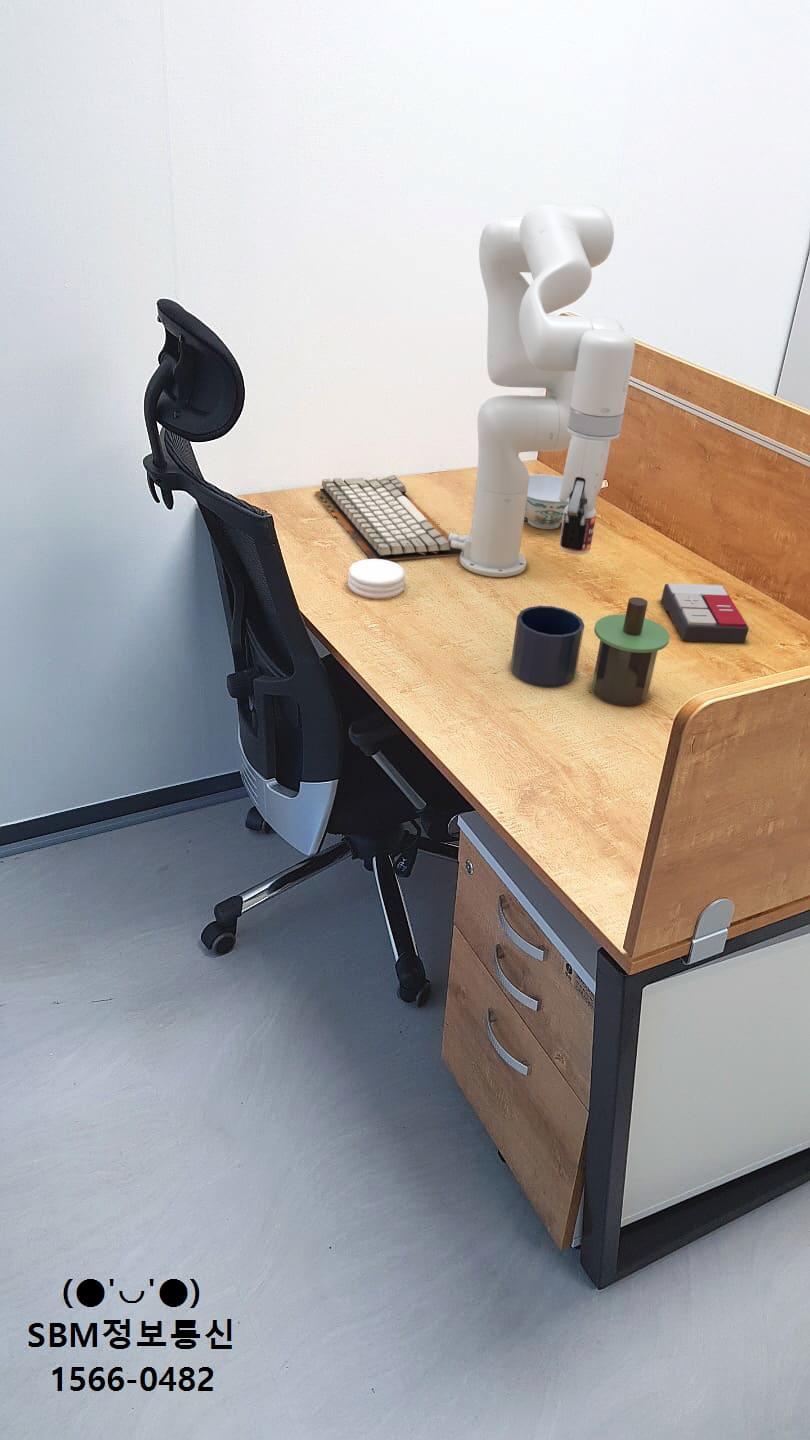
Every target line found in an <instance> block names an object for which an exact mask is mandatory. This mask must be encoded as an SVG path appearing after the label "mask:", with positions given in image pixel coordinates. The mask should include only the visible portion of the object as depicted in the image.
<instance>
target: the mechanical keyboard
mask: <svg viewBox="0 0 810 1440" xmlns="http://www.w3.org/2000/svg"><path fill="white" fill-rule="evenodd" d="M321 487H322V488H319V491H314V494H315V495H316V497H317V498H318V499H319V501H321V503H322V504H323V506H325V509H327V510H328V511H329V513H330V514H331V515H332V516H333V517H334V518H337V519H338V522H337V523H339V524H341V525H342V526H343V528H344V529H345V530H346V531H347V532H348V533H349V534H350V535H351V537H352V539H353V540H354V541H355V543H356V544H357V545H358V546H359V547H360V548H361V550H362V551H363V552H364V553H365V554H366V556H367V558H368V559H383V560H388V561H391V562H400V561H402V562H403V561H411V560H424V559H434V558H435V559H436V558H449V557H460V554H461V552H462V549H458V548H457V549H456V548H452V547H451V543H449V542H448V537H449V536H448V535H447V534H446V533H444V531H442V529H441V528H440V527H439V526H438V525H437V524H435V522H434V521H433V520H432V519H431V518H430V517H429V515H427V514H426V513H425V512H424V511H423V510H422V508H420V506H418V504H417V503H416V502H415V501H414V500H412V498H411V497H409V496H408V495H407V494H406V493H407V488H406V484H405V483H403V482H402V481H401V479H399V478H398V477H397V476H396V474H391V475H389V476H387V477H386V476H385V475H380V476H377V477H376V478H375V477H374V476H369V477H366V478H365V479H364V478H363V477H353V478H351V477H350V478H344V479H342V478H341V477H334V478H332V479H331V478H322V480H321Z"/></svg>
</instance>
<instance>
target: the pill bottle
mask: <svg viewBox="0 0 810 1440" xmlns="http://www.w3.org/2000/svg"><path fill="white" fill-rule="evenodd" d="M569 499H570V496H569ZM569 499H568V504H569ZM585 502H586V500H583V499H581V503H585ZM596 505H597V498H596V499H595V501H594V502H593V504H592V505H591V506H589V507H588V510H587V515H586V520H585V524H587V525H586V531H585V537H584V543H583V548H582V550H575V549H570V548H565V547H562V546H561V541H562V535H563V528H564V522H565V520H566V515H567V510H568V505H567V506H566V507H565V509H564V515H563V522H562V523H561V529H560V536H559V543H558V547H559V549H560V550H561V551H563V552H564V553H568V554H572V555H586V554H588V553H589V552H590V551H591V547H592V542H593V536H594V532H595V531H594V530H595V524H596V518H597V510H596V509H595V508H596ZM579 509H580V510H579V511H581V513H582V512H583V508H580V507H579Z"/></svg>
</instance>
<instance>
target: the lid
mask: <svg viewBox="0 0 810 1440" xmlns="http://www.w3.org/2000/svg"><path fill="white" fill-rule="evenodd" d="M648 605H649V603H648V600H647V599H645V598H642V597H638V596H632V597H630V598H629V599H628V601H627V607H626V612H625V614H623V613H622V614H621V613H620V614H618V613H617V614H610V615H606V616H603V617H601V618H599V619H598V620H597V621H595V623H594V628H593V631H594V635H595V636H596V637H597V639H599V641H600V640H601V641H602V642H604V643H606V644H607V645H609V646H611V647H614V648H617V649H620V650H624V651H629V652H636V653H649V652H655V651H658V652H659V651H661V650H664V649H665V648H666V647H667V646H668V645H669V643H670V639H671V638H670V633H669V632H668V630H667V629H666V627H664V626H663V625H662V624H660V623H659V622H656V621H655V620H652V619H649V618H647V617H646V614H647V608H648Z"/></svg>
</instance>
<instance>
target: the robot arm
mask: <svg viewBox="0 0 810 1440" xmlns="http://www.w3.org/2000/svg"><path fill="white" fill-rule="evenodd" d="M614 235H615V232H614V224H613V220H612V219H611V216H610V215H609V214H608V211H606V210H605V209H604V208H602V207H600V206H599V205H598V206H597V205H594V204H576V203H575V204H574V203H555V202H554V203H553V202H551V203H542V204H537V205H536V206H534V207H532V208H530V209H529V210H527V212H526V213H525V214H524V215H523V216H522V215H519V216H518V215H517V216H516V215H515V216H514V215H513V216H503V217H497V218H494V219H492V220H490V221H489V222H487V223H486V224H485V226H484V227H483V228H482V231H481V234H480V237H479V245H478V247H479V248H478V261H479V268H480V269H479V270H480V274H481V278H482V281H483V285H484V289H485V295H486V298H487V342H486V344H487V345H486V346H487V348H486V349H487V351H486V355H487V356H486V361H487V363H486V365H487V373H488V378H489V380H490V381H491V383H493V384H494V385H496V386H499V387H506V388H526V389H527V388H528V389H531V388H532V389H533V388H536V389H537V388H538V389H545V390H546V393H547V395H520V394H519V395H514V394H513V395H512V394H511V395H509V394H506V395H497V396H494V397H490V398H488V399H486V400H485V401H484V402H483V403H482V405H481V406H480V407H479V410H478V413H477V441H478V443H477V444H478V454H477V455H478V456H477V469H476V480H475V488H474V489H475V490H474V499H473V506H472V507H473V509H472V516H471V527H470V534H465V535H460V534H459V533H453V532H450V533H449V534H448V536H447V537H448V542H449V543H451V547H452V548H456V549H457V548H458V549H461V550H462V552H461V554H460V555H459V563H460V564H461V566H462V567H463V568H464V569H466V570H468V571H470V572H471V573H474V574H477V575H480V576H485V577H492V578H507V577H514V576H517V575H520V574H521V573H522V572H524V571H525V570H526V568H527V559H526V557H525V556H524V555H523V554H522V553H520V552H521V544H522V537H523V530H524V523H525V508H526V501H527V494H528V486H529V475H530V474H529V470H528V468H527V467H526V465H525V463H524V462H523V460H522V459H521V458H520V456H519V454H521V453H529V452H531V453H532V452H534V453H535V452H537V453H538V452H541V453H543V452H546V453H547V452H549V453H550V452H561V451H565V450H567V454H566V459H565V465H564V470H563V474H562V477H563V480H562V485H561V490H560V495H559V500H560V502H564V501H567V499H568V497H569V496H570V499H569V504H568V510H567V515H566V520H565V522H564V528H563V535H562V541H561V546H562V547H565V548H570V549H575V550H582V548H583V543H584V537H585V531H586V525H587V524H585V520H586V515H587V510H588V507H589V506H591V505H592V504H593V502H594V501H595V499H596V500H597V497H598V495H599V494H600V492H601V489H602V487H603V484H604V480H605V475H606V470H607V465H608V459H609V455H610V454H609V453H610V448H611V442H612V441H613V440H616V439H618V438H619V437H620V435H621V430H622V425H623V419H624V414H625V413H624V412H625V409H626V401H627V396H628V390H629V385H630V378H631V373H632V367H633V361H634V356H635V350H636V349H635V348H636V343H635V340H634V337H633V336H631V335H630V334H628V333H627V332H625V329H624V327H623V325H622V324H621V322H620V321H619V320H617V319H615V318H613V317H608V316H607V317H606V316H585V315H584V316H583V315H582V316H581V315H580V316H579V315H550V314H551V313H553V312H557V311H558V310H560V309H563V308H565V307H567V306H569V305H572V304H573V303H575V302H577V301H578V300H579V299H580V298H582V296H583V295H584V294H585V293H586V292H587V291H588V289H589V288H590V286H591V282H592V276H593V271H592V269H593V268H595V267H598V266H600V265H601V264H603V263H604V262H605V261H606V260H607V259H608V258H609V256H610V255H611V252H612V249H613V245H614V241H615V240H614V239H615V236H614ZM522 273H529V274H530V275H531V277H532V282H531V283H529V282H528V281H527V279H526V278H525V276H524V275H522ZM581 499H583V500H586V502H585V503H581ZM579 507H580V508H583V512H582V513H581V511H579V510H580V509H579Z"/></svg>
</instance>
